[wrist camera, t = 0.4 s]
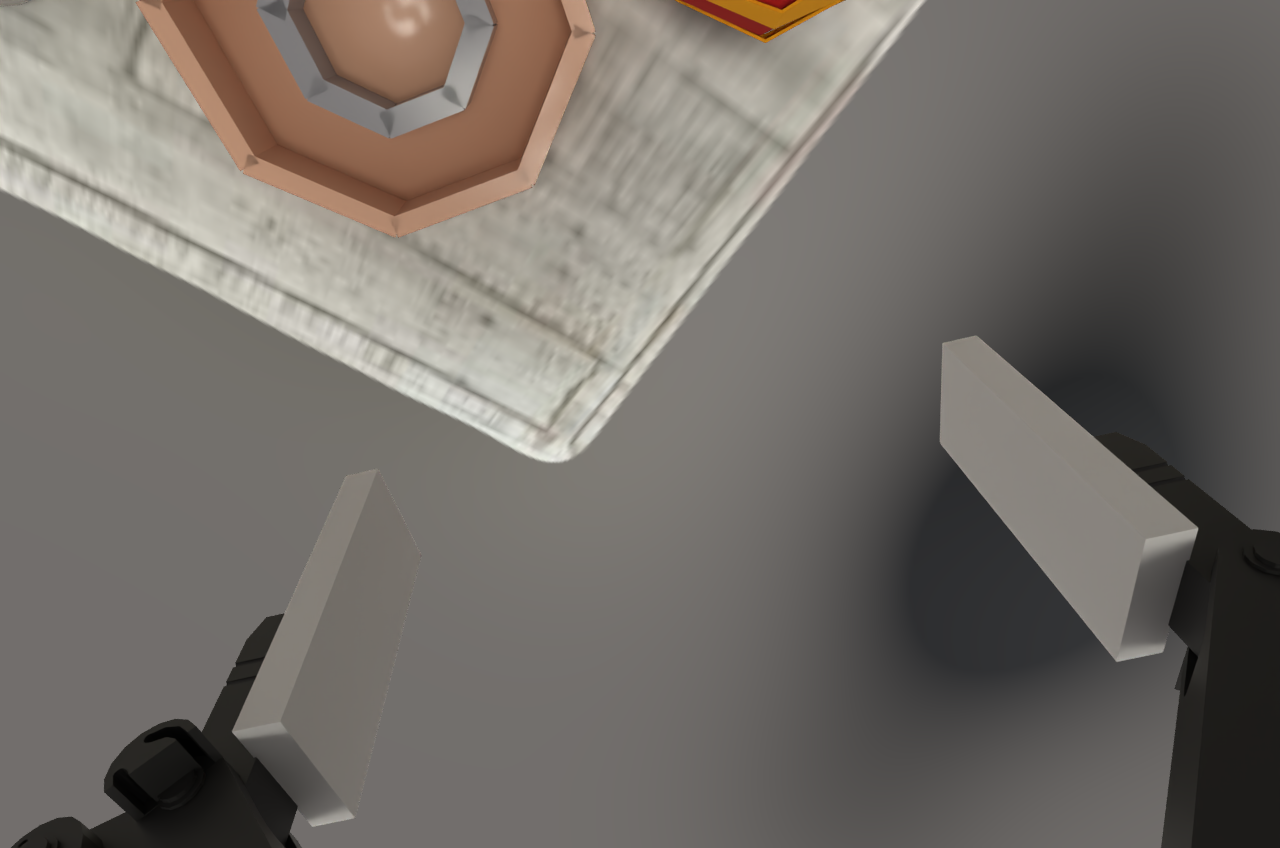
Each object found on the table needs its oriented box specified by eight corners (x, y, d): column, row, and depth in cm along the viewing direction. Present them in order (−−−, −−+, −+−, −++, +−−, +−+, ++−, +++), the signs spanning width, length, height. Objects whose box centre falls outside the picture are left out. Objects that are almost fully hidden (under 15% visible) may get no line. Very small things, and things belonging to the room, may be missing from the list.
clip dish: (95, -138, 30) (35, -154, 27) (485, -314, 29) (473, -354, 25) (325, 250, 40) (302, 275, 36) (630, 136, 38) (636, 151, 35)
